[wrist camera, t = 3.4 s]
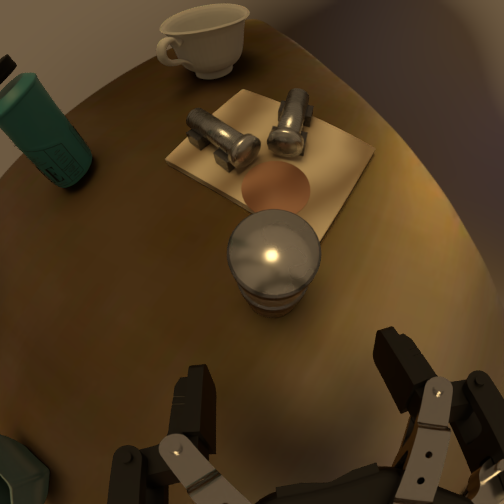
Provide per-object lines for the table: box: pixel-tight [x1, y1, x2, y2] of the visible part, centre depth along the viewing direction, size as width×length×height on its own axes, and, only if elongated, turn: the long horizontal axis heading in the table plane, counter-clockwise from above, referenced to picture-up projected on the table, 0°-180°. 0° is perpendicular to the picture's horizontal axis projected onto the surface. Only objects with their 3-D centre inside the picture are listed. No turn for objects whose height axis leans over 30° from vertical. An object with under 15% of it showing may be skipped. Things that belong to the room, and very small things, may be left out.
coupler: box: [227, 209, 321, 318], centre depth 18 cm, size 5×5×10 cm
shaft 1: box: [186, 108, 261, 173], centre depth 25 cm, size 8×4×4 cm, turn 45°
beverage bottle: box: [0, 54, 92, 188], centre depth 20 cm, size 6×7×20 cm
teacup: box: [156, 4, 250, 79], centre depth 30 cm, size 12×15×10 cm
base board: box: [165, 89, 376, 242], centre depth 27 cm, size 18×14×1 cm
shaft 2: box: [267, 88, 313, 157], centre depth 26 cm, size 8×4×4 cm, turn 165°
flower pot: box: [0, 435, 50, 504], centre depth 12 cm, size 9×9×9 cm
